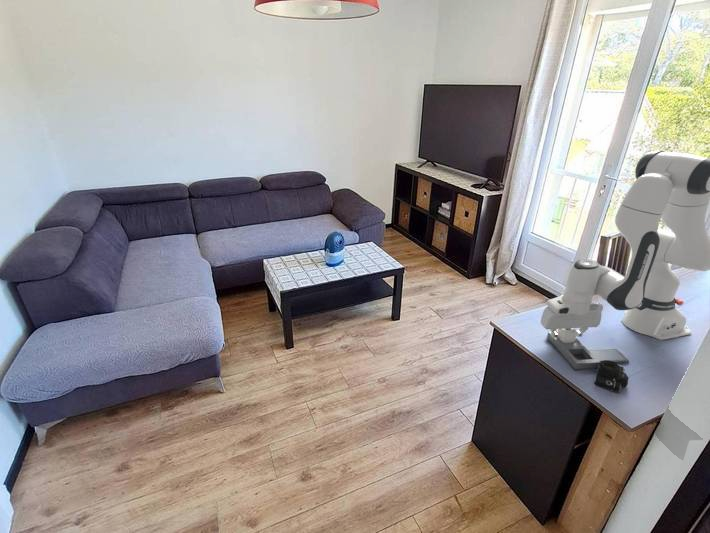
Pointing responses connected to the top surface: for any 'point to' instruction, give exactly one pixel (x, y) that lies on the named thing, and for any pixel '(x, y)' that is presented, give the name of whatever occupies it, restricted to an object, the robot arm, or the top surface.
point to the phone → (609, 355)
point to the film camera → (611, 376)
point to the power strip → (575, 354)
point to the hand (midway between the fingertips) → (566, 336)
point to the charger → (567, 335)
